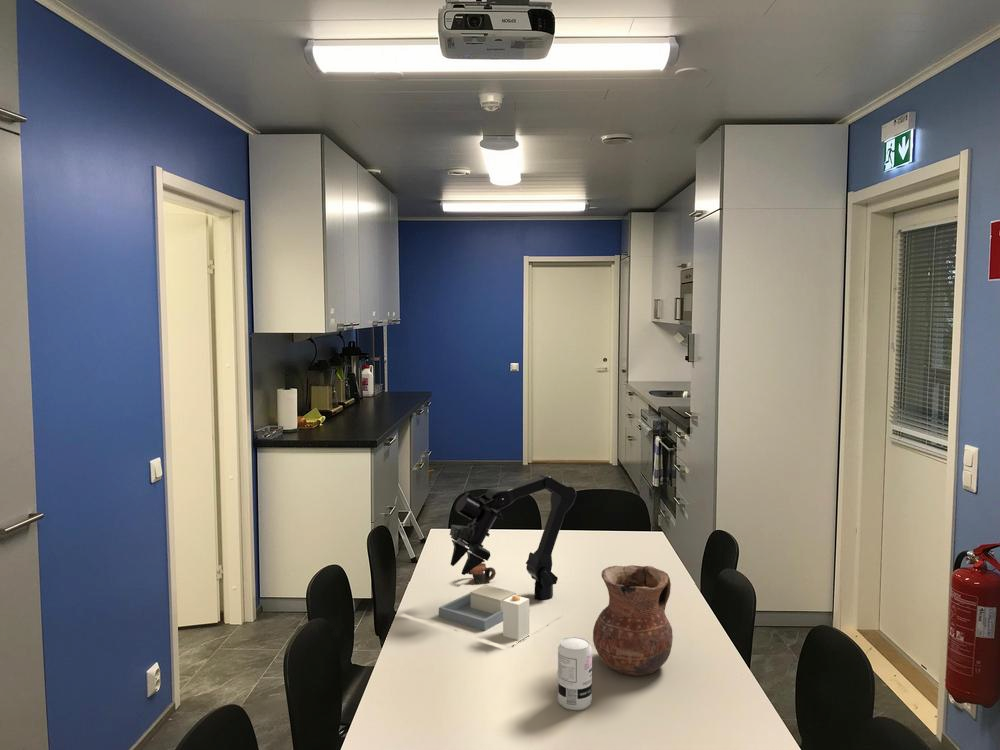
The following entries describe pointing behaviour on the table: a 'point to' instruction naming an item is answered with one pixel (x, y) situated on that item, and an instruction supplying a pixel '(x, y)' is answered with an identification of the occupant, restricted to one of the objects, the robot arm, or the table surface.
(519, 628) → the juice carton
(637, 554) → the table surface
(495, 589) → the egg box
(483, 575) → the pottery mug
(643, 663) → the jug
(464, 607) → the tote
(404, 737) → the table surface
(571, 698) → the supplement can
